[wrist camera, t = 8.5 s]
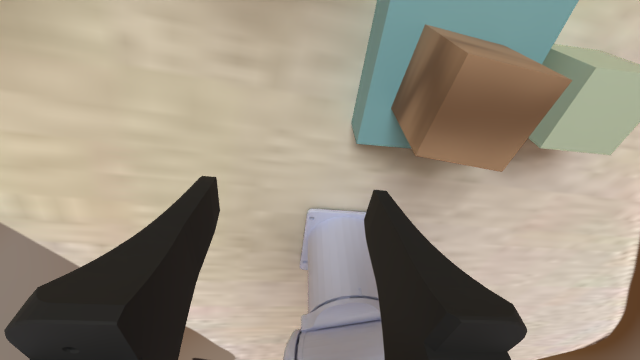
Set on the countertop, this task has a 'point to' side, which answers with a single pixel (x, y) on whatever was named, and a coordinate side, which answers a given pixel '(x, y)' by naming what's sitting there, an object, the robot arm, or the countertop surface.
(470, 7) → the teal base block
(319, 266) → the robot arm
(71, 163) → the countertop surface
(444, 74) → the walnut block
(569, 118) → the sage block
